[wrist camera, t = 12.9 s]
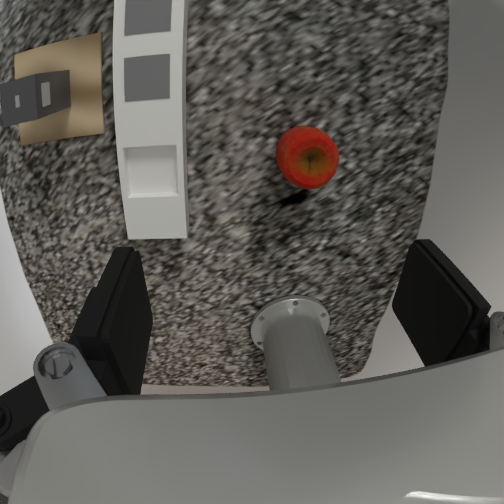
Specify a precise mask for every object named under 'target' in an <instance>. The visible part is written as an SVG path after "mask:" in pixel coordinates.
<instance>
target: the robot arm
mask: <svg viewBox="0 0 504 504" xmlns="http://www.w3.org/2000/svg"><path fill="white" fill-rule="evenodd" d="M392 308H393V311H394V313H395V315H396V316H397V318H398V320H399V321H400V323H401V325H402V326H403V328H404V330H405V332H406V333H407V335H408V337H409V338H410V340H411V342H412V344H413V345H414V347H415V349H416V351H417V353H418V354H419V356H420V358H421V360H422V362H423V363H424V365H425V367H421V368H417V369H412V370H408V371H403V372H398V373H393V374H388V375H382V376H377V377H371V378H366V379H360V380H353V381H347V382H341V380H340V377H339V374H338V371H337V368H336V365H335V362H334V359H333V356H332V353H331V350H330V347H329V344H328V341H327V339H326V336H325V334H326V333H327V331H328V328H329V323H330V319H329V315H328V312H327V310H326V308H325V306H324V305H323V304H322V303H321V302H319V301H318V300H316V299H314V298H311V297H308V296H302V295H292V296H286V297H282V298H279V299H276V300H274V301H272V302H269V303H268V304H266V305H265V306H263V307H262V308H261V309H260V310H259V311H258V312H257V313H256V315H255V316H254V318H253V320H252V322H251V327H250V330H251V337H252V340H253V342H254V344H255V345H256V346H257V347H258V348H260V349H261V350H263V351H264V356H265V363H266V369H267V375H268V382H269V388H270V391H257V392H241V393H220V394H219V393H217V394H184V395H183V394H180V395H159V394H158V395H157V394H154V395H140V393H141V386H142V380H143V374H144V368H145V362H146V357H147V351H148V346H149V340H150V335H151V330H152V324H153V316H152V311H151V306H150V302H149V297H148V292H147V287H146V282H145V277H144V272H143V267H142V262H141V256H140V253H139V251H134V248H133V247H116V248H115V249H114V251H113V253H112V255H111V257H110V259H109V261H108V263H107V265H106V268H105V270H104V272H103V274H102V276H101V278H100V280H99V282H98V285H97V287H93V288H92V289H91V291H90V293H89V295H88V297H87V299H86V301H85V303H84V306H83V308H82V310H81V312H80V315H79V317H78V319H77V322H76V324H75V326H74V329H73V331H72V334H71V336H70V338H69V341H68V343H55V344H52V345H50V346H48V347H47V348H45V349H43V350H42V351H41V352H40V353H39V354H38V355H37V357H36V359H35V361H34V365H33V371H34V376H33V377H31V378H29V379H28V380H26V381H24V382H23V383H21V384H19V385H18V386H16V387H14V388H13V389H11V390H9V391H8V392H6V393H4V394H3V395H1V396H0V504H504V312H494V313H493V314H492V315H491V317H490V318H489V317H488V315H487V314H488V312H489V310H490V308H491V305H490V304H489V303H488V302H487V301H486V300H485V298H484V297H483V296H482V295H481V294H480V293H479V291H478V290H477V289H476V288H475V287H474V286H473V285H472V283H471V282H470V281H469V280H468V279H467V278H466V277H465V276H464V274H463V273H461V271H460V270H459V269H458V268H457V267H456V266H455V265H454V264H453V262H452V261H451V260H450V259H449V258H448V257H447V256H446V255H445V254H444V253H443V252H442V251H441V250H440V249H439V248H438V247H437V246H436V245H435V244H434V243H433V242H432V241H431V240H429V239H424V240H423V239H419V240H415V241H414V242H413V244H411V245H410V247H409V250H408V253H407V257H406V260H405V264H404V267H403V270H402V274H401V277H400V280H399V283H398V286H397V289H396V292H395V296H394V298H393V302H392Z"/></svg>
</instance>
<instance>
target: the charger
mask: <svg viewBox="0 0 504 504" xmlns="http://www.w3.org/2000/svg"><path fill="white" fill-rule="evenodd" d="M0 98H1V110H2V120H3V127H7V126H11V125H15V124H20V123H24V122H29V121H33V120H38V119H40V118H43V117H45V116H48V115H50V114H53V113H56V112H58V111H61V110H64V109H66V108H69V107H71V95H70V70H62V71H53V72H45V73H38V74H33V75H29V76H26V77H22V78H19V79H15V80H12V81H9V82H6V83H3V84H0Z"/></svg>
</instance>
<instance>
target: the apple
mask: <svg viewBox="0 0 504 504" xmlns="http://www.w3.org/2000/svg"><path fill="white" fill-rule="evenodd" d="M276 159H277V163H278V166H279V168H280V170H281V172H282V173H283V175H284V177H285V178H286V179H288V180H289V181H290V182H292V183H293V184H295V185H297V186H300V187H302V188H305V189H317V188H320V187H322V186H323V185H325V184H327V183H328V182H329V181H330V179H331V178H332V177H333V176H334V175H335V173H336V169H337V165H338V162H339V152H338V148H337V146H336V145H335V143H334V141H333V140H332V139H331V138H330V137H329V136H328V135H327V134H326V133H325V132H323V131H321V130H319V129H317V128H314V127H310V126H298V127H294V128H292V129H290V130H288V131H286V132H285V133H284V134H283V135H282V136H281V138H280V140H279V142H278V146H277V150H276Z"/></svg>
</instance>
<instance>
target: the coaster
mask: <svg viewBox="0 0 504 504" xmlns="http://www.w3.org/2000/svg"><path fill="white" fill-rule="evenodd" d="M62 70H70V95H71V107H69V108H66V109H64V110H61V111H58V112H56V113H53V114H50V115H48V116H45V117H43V118H40V119H38V120H33V121H29V122H24V123H20V124H19V131H20V139H21V146H23V145H28V144H34V143H39V142H45V141H51V140H58V139H64V138H71V137H78V136H86V135H94V134H103V133H105V123H104V107H103V85H102V32H101V33H95V34H90V35H85V36H81V37H76V38H72V39H68V40H63V41H59V42H56V43H52V44H48V45H45V46H41V47H38V48H34V49H31V50H28V51H25V52H22V53H19V54H16V55H15V79H19V78H22V77H26V76H29V75H33V74H38V73H45V72H53V71H62Z"/></svg>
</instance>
